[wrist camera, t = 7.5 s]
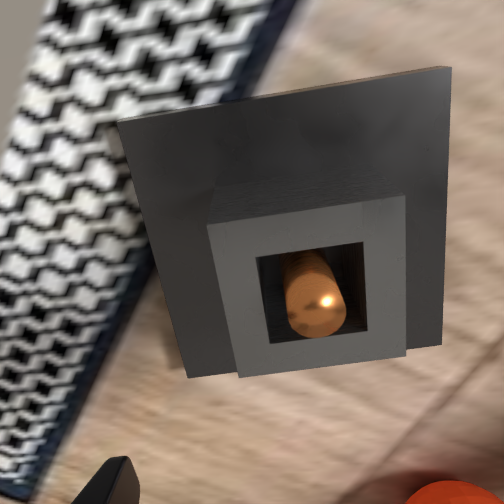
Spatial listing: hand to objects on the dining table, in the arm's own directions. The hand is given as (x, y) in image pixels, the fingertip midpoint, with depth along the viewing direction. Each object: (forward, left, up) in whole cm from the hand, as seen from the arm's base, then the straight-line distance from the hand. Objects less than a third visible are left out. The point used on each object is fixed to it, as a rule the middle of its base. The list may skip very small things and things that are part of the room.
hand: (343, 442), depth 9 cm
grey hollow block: (0, 0, -10) cm, 10 cm away
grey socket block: (0, 0, -11) cm, 11 cm away
